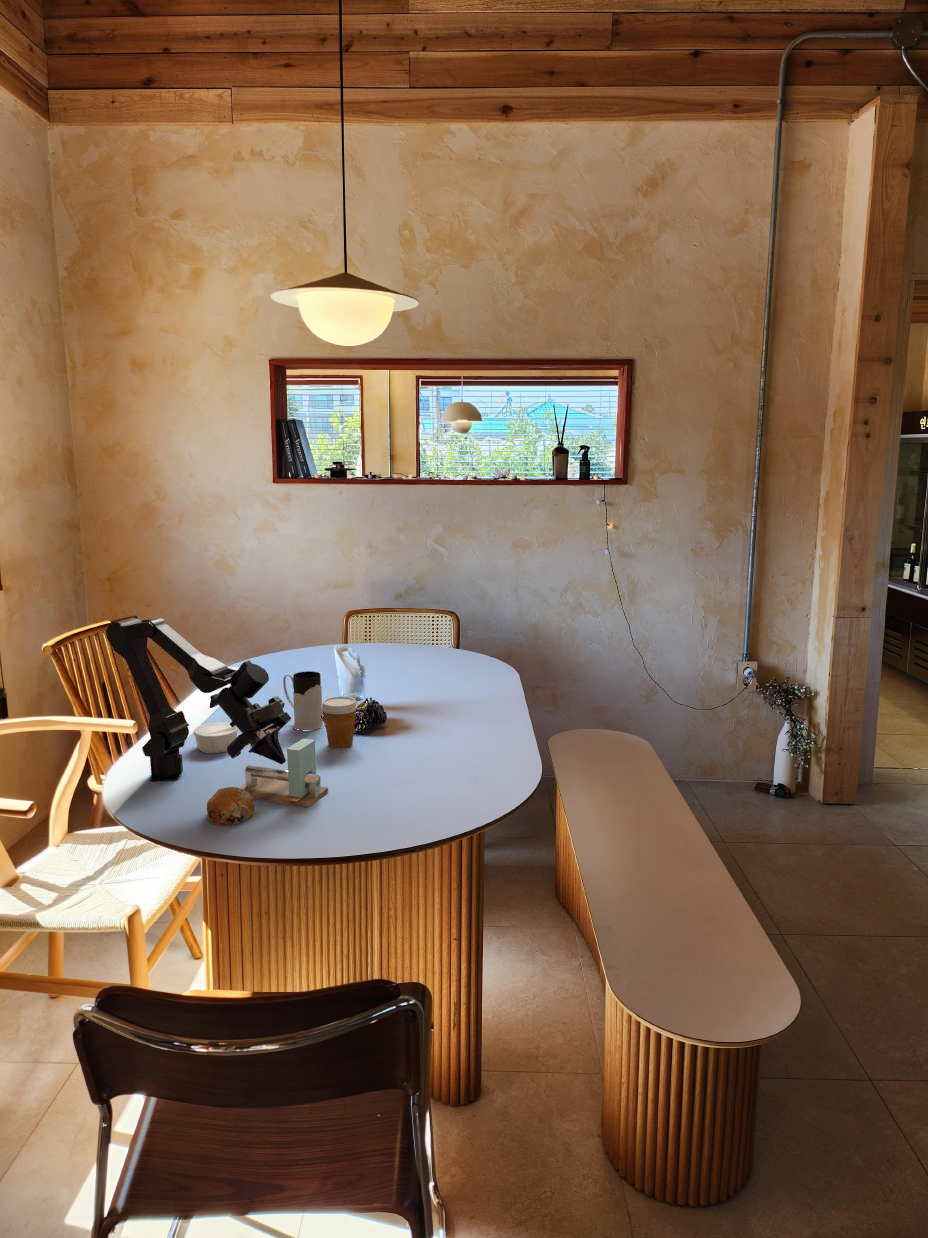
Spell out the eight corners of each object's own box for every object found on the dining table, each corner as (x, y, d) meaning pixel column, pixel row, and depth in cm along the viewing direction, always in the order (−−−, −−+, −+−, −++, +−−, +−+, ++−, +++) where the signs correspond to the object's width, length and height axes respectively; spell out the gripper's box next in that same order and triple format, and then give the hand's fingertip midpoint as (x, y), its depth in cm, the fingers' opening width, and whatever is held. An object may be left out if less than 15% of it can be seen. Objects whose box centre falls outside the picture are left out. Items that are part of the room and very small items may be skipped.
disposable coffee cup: (324, 752, 215) (323, 708, 212) (320, 740, 224) (319, 697, 221) (361, 749, 217) (360, 705, 215) (355, 737, 226) (354, 694, 224)
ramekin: (226, 756, 212) (225, 737, 211) (186, 753, 214) (185, 734, 213) (246, 742, 223) (245, 723, 221) (208, 739, 225) (206, 720, 224)
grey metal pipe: (245, 786, 190) (244, 767, 189) (251, 782, 193) (250, 763, 192) (315, 797, 184) (314, 777, 184) (321, 793, 187) (320, 773, 186)
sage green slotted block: (289, 796, 184) (287, 748, 182) (304, 784, 191) (303, 738, 188) (300, 797, 183) (299, 750, 181) (316, 786, 190) (314, 740, 187)
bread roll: (258, 825, 182) (259, 787, 184) (247, 825, 172) (249, 785, 174) (212, 825, 181) (214, 788, 183) (199, 825, 171) (201, 786, 173)
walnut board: (233, 795, 188) (233, 790, 188) (256, 781, 196) (255, 776, 196) (308, 807, 182) (308, 802, 181) (328, 791, 190) (327, 787, 190)
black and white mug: (307, 733, 229) (305, 680, 226) (273, 723, 238) (271, 672, 235) (330, 725, 236) (329, 674, 233) (297, 715, 244) (295, 666, 241)
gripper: (236, 700, 177) (283, 756, 175) (283, 678, 194) (326, 729, 193) (207, 731, 181) (252, 786, 180) (255, 706, 198) (297, 756, 197)
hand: (283, 762), depth 187 cm, fingers closed
